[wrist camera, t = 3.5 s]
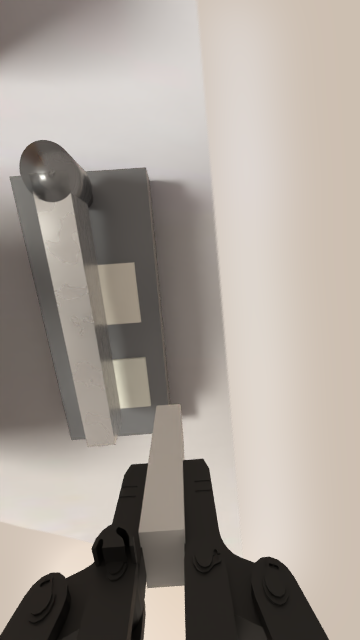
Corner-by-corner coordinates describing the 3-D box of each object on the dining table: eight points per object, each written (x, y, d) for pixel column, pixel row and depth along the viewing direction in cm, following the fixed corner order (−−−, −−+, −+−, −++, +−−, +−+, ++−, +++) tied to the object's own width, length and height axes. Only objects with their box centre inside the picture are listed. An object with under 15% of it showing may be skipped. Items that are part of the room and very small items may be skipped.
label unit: (81, 422, 29) (62, 455, 24) (31, 188, 22) (-12, 165, 17) (171, 415, 29) (170, 446, 24) (149, 180, 22) (142, 155, 17)
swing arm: (93, 423, 23) (81, 447, 20) (41, 163, 17) (13, 141, 14) (127, 421, 23) (121, 444, 20) (87, 160, 17) (70, 138, 14)
